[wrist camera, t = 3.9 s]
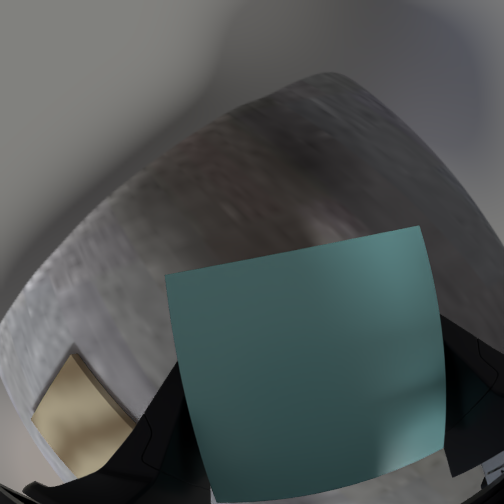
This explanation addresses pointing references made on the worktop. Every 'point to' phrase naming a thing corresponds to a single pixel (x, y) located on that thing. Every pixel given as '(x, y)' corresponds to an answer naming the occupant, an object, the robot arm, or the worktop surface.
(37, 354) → the worktop surface
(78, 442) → the oak board
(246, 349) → the aqua cube
